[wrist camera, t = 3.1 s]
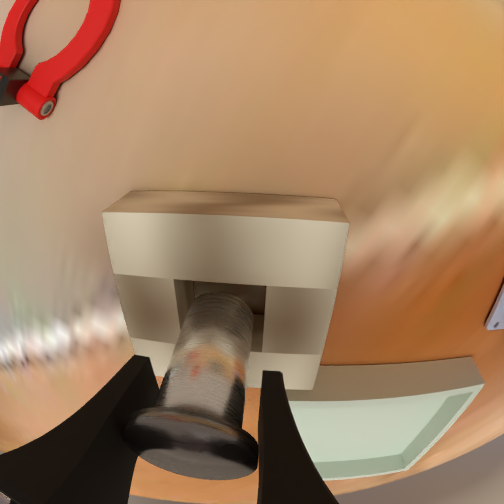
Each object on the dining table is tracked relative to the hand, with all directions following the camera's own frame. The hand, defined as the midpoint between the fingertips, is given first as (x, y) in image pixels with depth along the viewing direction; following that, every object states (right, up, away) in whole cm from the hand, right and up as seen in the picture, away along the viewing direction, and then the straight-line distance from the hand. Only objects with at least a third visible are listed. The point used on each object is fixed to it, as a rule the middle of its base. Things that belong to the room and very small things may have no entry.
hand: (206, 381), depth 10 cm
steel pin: (0, +2, +3) cm, 4 cm away
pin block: (0, +3, +6) cm, 7 cm away
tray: (+11, -10, +12) cm, 19 cm away
